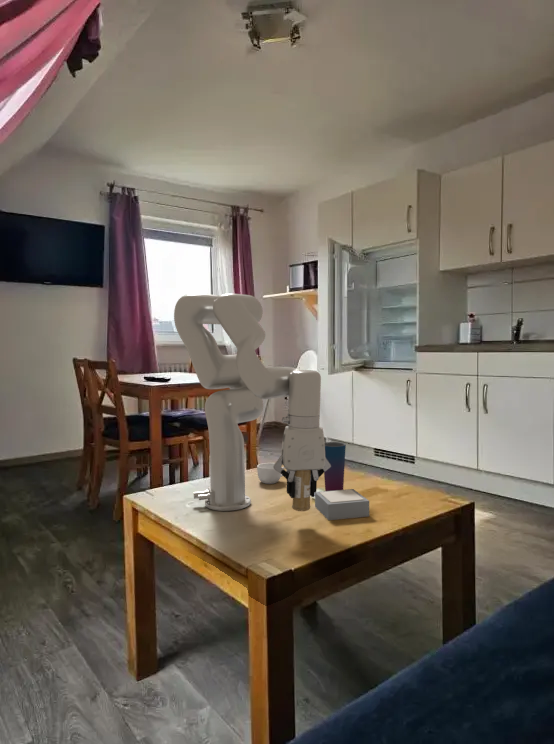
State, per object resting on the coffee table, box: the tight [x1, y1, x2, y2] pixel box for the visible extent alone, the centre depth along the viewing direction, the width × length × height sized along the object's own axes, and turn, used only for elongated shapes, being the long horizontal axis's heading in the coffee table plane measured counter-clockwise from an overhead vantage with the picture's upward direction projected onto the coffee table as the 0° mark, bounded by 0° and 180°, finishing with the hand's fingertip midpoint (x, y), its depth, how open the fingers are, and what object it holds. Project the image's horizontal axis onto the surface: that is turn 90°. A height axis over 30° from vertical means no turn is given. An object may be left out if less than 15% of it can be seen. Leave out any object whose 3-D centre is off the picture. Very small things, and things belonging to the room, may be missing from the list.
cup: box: [323, 441, 347, 491], centre depth 149 cm, size 7×7×15 cm
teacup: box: [256, 462, 287, 485], centre depth 164 cm, size 10×8×5 cm
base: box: [314, 488, 370, 521], centre depth 135 cm, size 11×11×4 cm
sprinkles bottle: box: [291, 470, 311, 512], centre depth 125 cm, size 5×5×14 cm
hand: (301, 495), depth 125 cm, fingers closed on sprinkles bottle, 4 cm apart
